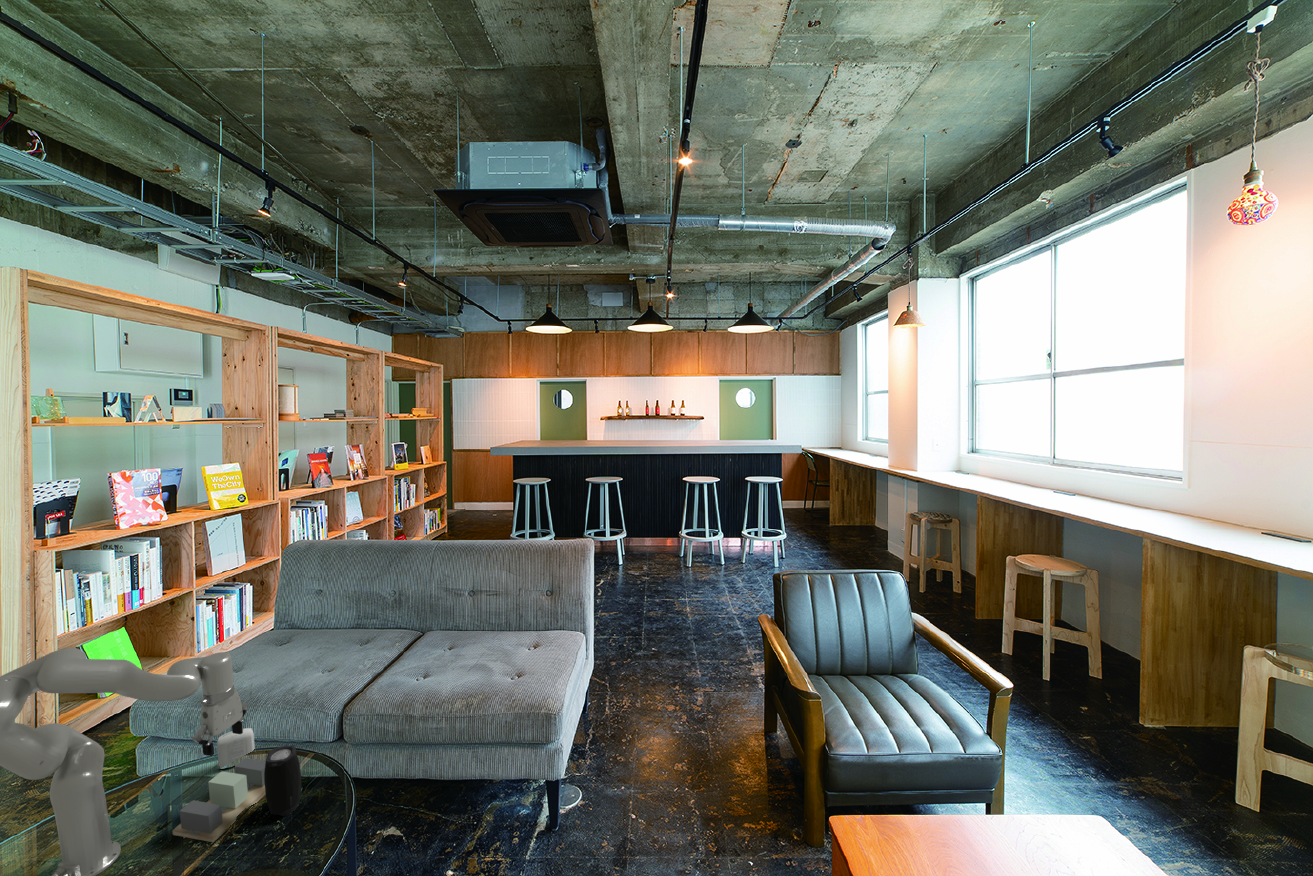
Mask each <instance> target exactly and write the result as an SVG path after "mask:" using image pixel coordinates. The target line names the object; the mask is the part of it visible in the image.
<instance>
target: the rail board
mask: <svg viewBox="0 0 1313 876" xmlns="http://www.w3.org/2000/svg"><path fill="white" fill-rule="evenodd" d="M265 763H266V760H263V759H256V758H255V759H250V758H245V759H243V760H242V761H241V762H240V763H238V764H237V765H236V766H235V767H234V771H235V772H234V773H236V774H242V775H246V778H247V789H248V798H247V799H246V800H245V801H244V802H243V803H241V804H240V805H239V806H238V807H237V808H236V809H234V808H228V807H222V806H221V805H217V804H212V803H210V799H208V800H207V801H206V802H204V801H199V800H194V799H193V800H192V801H190V802H189V803H187V804H186V805H185V806H183V808H181V809H180V810H179V817H180V823H179V824H178V825H177V826H176V827H175V828H174V829H172V836H178V837H183V838H188V839H195V840H198V841H199V840H201V841H205V842H209V843H214V842H215V841H217V839H219V838H220V837H221V836H222V835H223V834H224V833H225V832H227V831H228V830H229V829H230V828H231V827H230V825H232V824H233V823H234V821H235V819H236V817H237V816H238V815H239V814H240V813H241V812H242V811H243V810H244V809H245V808H248V807H249V806H251V805H253V804H255V803H256V804H257V803H258V802H259V801H261V799H263V798H264V797H265V796H266V793H265V783H264V771H265ZM256 804H255V805H256ZM234 824H235V823H234ZM234 824H233V825H234ZM233 825H232V826H233ZM229 827H230V828H229Z"/></svg>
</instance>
